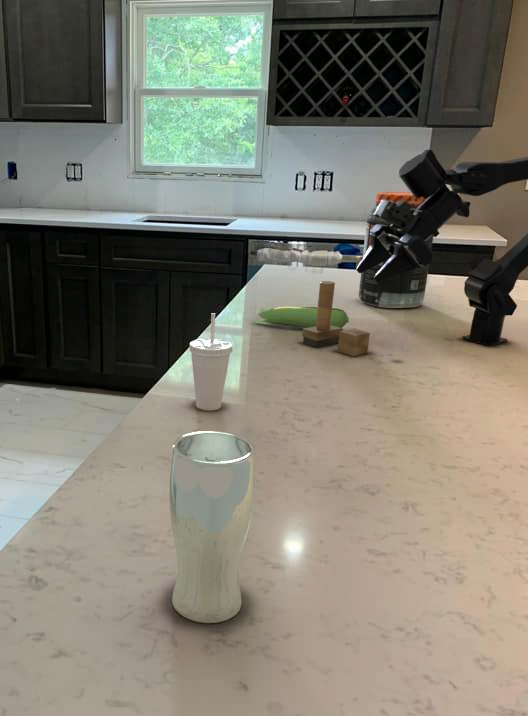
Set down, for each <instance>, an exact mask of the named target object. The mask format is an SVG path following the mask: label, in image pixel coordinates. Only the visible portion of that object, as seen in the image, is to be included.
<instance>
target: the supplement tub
mask: <svg viewBox="0 0 528 716" xmlns="http://www.w3.org/2000/svg"><path fill="white" fill-rule="evenodd" d="M382 199H383V200H387V201H391V202H394V203H395V204H397V203H399V202H400V201H405V202H407V203H409V204H410V205H411V208H413V209H417V208H418V207H419V206H420V205H421V204H422V203H423V202H424V201H425V200H426V199H427V198H425V199H424V198H422V197H420V198H415V197H414V195H413V194H412V193H411V191H379V192H377V194H376V198H375V206H374V207H373V208H372V209H371V210H370V211H369V213H368V215H367V218H366V225H365V233H364V234H365V235H364V244H363V252H362V258H363V257H364V256H365V254H366V253H367V251H368V249H369V247H370V230H371V229H372V228H373V227H374V226H375V225H376V224H384V225H387V226H390V225H391V223H389V222H387V221H385V220H384V219H382V218H380V217H379V218H378V217H376V216H374V213H375V211H376V210H377V208H378V206H379V204H380V202H381V201H382ZM393 232H394V231H393ZM394 233H395V232H394ZM425 242H426V243H427V245H428V246H429V247H430V249H431V250H432V248H433V242H434V237H433V236H431V237H430V238H429V239H428V240H426V241H425ZM432 251H433V250H432ZM391 256H392V255H391ZM388 260H389V259H388ZM388 260H386V261H384V262H382V263H380V264H378V265H376V266H374V267H372V268H370V269H368V270H366V271H364V272H362V273H360V279H359V289H358V298H359V299H360V301H361V302H362V303H364V304H366V305H369V306H373V307H377V308H385V309H403V308H404V309H405V308H407V309H409V308H416V307H419V306H420V305H422V304H423V303H424V300H425V295H426V288H427V283H428V276H429V269H430V264H429V265H428V266H426V267H425V268H424V267H422V266H420V268H419V269H414V270H411V271H408V272H405V273H402V274H399V275H396V276H393V277H391V278H388V279H385V280H382V281H380V282H376V281H375V280H374V277H375V275H376V274H377V273H378V272H379V270H380V269H381V268H382V267H383V266H384V265H385V263H386V262H387V261H388Z"/></svg>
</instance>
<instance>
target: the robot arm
mask: <svg viewBox="0 0 528 716" xmlns="http://www.w3.org/2000/svg"><path fill="white" fill-rule="evenodd" d="M397 176H398V177H399V178H400V180H401V181H402V182H403V183H404V185H405V186H406V188H407V189H408V190H409V192H411V193H412V194H413V195H414V197H415V198H420V197H422V198H424V199H425V198H427V199H426V200H425V201H424V202H423V203H422V204H421V205H420V206H419V207H418V208H417V209H413V208H411V205H410V204H409V203H407V202H405V201H400V202H399V203H397V204H395V203H394V202H391V201H387V200H383V199H382V201H381V202H380V204H379V206H378V208H377V210H376V211H375V213H374V216H376V217H378V218H379V217H380V218H382V219H384V220H385V221H387V222H389V223H391V225H390V226H387V225H384V224H376V225H375V226H374V227H373V228H372V229H371V230H370V247H369V249H368V251H367V253H366V254H365V256H364V257H363V256H362V259H361V260H360V262H359V264H358V266H357V267H356V269H355V270H356V272H357V273H359V274H361V273H362V272H364V271H366V270H368V269H370V268H372V267H374V266H376V265H378V264H380V263H382V262H384V261H386V260H388V259H389V260H388V261H387V262H386V263H385V265H384V266H383V267H382V268H381V269H380V270H379V272H378V273H377V274H376V275H375V277H374V280H375V281H376V282H380V281H382V280H385V279H388V278H391V277H393V276H396V275H399V274H402V273H405V272H408V271H411V270H414V269H419V268H420V266H422V267H424V268H425V267H426V266H428V265H429V266H430V264H431V263H432V262H433V261H434V257H435V256H434V255H435V252H434V251H433V250H431V249H430V247H429V246H428V245H427V243H426V242H425V241H426V240H428V239H429V238H430V237H431V236H433V238H437V237H438V236H439V235H440V234H441V233H440V232H439V230H440V229H441V228H442V227H443V226H444V225H445V224H446V223H448V221H450V220H451V219H452V218H453V217H454V216H455V215H457V216H458V217H464V218H469V217H470V212H471V211H470V206H471V202H470V201H467V200H464V199H462V197H461V196H460V195H464V196H471V197H481V196H483V195H485V194H488V193H491V192H493V191H496V190H497V189H499V188H501V187H502V186H505V185H507V184H510V183H516V182H520V181H526V180H528V156H526V157H519V158H515V159H509V160H503V161H463V162H460V163H457V164H456V165H455V166H454V168H450V169H445V168H444V167H443V166H442V164H441V163H440V161H439V160H438V159H437V156H436V154H435V153H434V150H432V149H424V151H423V152H421V153H420V154H419V153H418V154H417V155H415V156H414V157H412V158H411V159H410V160H407V161H405V162H404V164H403V165H402V166H401V167H400V168H399V170H398V172H397ZM448 186H450V188H449V187H448ZM451 189H452V190H451ZM393 231H394V232H395V233H394V232H393ZM391 255H392V256H391ZM527 268H528V232H527V233H526V234H525V235H524V236H523V237H522V238H520V240H519V241H517V243H515V245H513V246H512V247H511V248H510V249H509V250H508V251H507V252H505V254H503V255H502V256H501V257H500V258H499V259H496V260H490V259H487V258H484V259H483V260H482V261H480V263H478V265H477V266H476V267H475V268H474V269H473V270H470V271H469V272H468V275H469V276H468V277H467V278H466V279H465V281H464V285H463V286H464V287H463V291H464V295H465V296H466V298H467V299H468V306H469V307H470V308H474V311H473V316H472V319H471V320H472V321H471V325H470V331H469V334H467V335H463V336H461V339H462V340H463V341H464V340H465V341H469V342H473V343H477V344H480V345H485V346H490V347H491V346H495V345H499V344H503V343H507V342H508V340H509V339H508V338H505V337H502V333H503V327H504V323H505V318H506V317H507V316H513V315H514V313H515V311H516V309H517V308H518V304H517V303H516V301H514V299H513V298H512V297H511V295H510V293H511V292H512V291H513V290H514V288H515V285H516V283H517V281H518V279H519V276H520V274H522V272H524V270H526V269H527Z"/></svg>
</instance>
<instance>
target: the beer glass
mask: <svg viewBox="0 0 528 716" xmlns="http://www.w3.org/2000/svg"><path fill="white" fill-rule="evenodd" d="M255 452H256V447H255V445H254V443H253V442H252V441H250V440H249V439H247V438H246V437H244V436H241V435H239V434H235V433H230V432H225V431H217V430H216V431H215V430H206V431H203V430H202V431H195V432H191V433H187V434H184V435H181V436H180V437H178V438H177V439H175V441H174V442H173V445H172V458H171V465H170V475H169V491H168V492H169V493H168V494H169V514H170V521H171V522H170V523H171V528H172V535H173V540H174V546H175V552H176V558H177V573H176V579H175V584H174V587H173V591H172V597H171V602H172V606H173V609H174V610H175V611H176V612H177V613H178V614H179V615H180V616H182V617H183V618H185V619H187V620H189V621H192V622H196V623H201V624H218V623H222V622H226V621H229V620H230V619H232V618H233V617H235V616H236V615H238V613H239V612H240V610H241V608H242V593H241V585H240V565H241V561H242V555H243V552H244V548H245V544H246V541H247V537H248V534H249V530H250V527H251V521H252V518H253V517H252V516H253V512H254V505H255V504H254V502H255V489H256V467H255V466H256V465H255V464H256V462H255V459H256V458H255V456H256V455H255Z"/></svg>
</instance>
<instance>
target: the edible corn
mask: <svg viewBox="0 0 528 716" xmlns="http://www.w3.org/2000/svg"><path fill="white" fill-rule="evenodd" d="M317 308H318V306H279V307H276V308H275V307H274V308H271V309H269V310H264V311H261V312H260V313H258V316H259V317H260V318H261V319H263V320H255V321H253V322H254V323H257V324H262V325H263V324H264V325H273V326H287V327H294V328H302V329H303V328H309V327H314V326H316V318H317ZM349 320H350V316H348V315H347V312H346V311H345V310H344V309H341V308H335V307H332V314H331V323H330V325H333V326H336V327H340V328H342V329H343V327H345V325H347V324H348V323H349V322H350V321H349Z"/></svg>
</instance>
